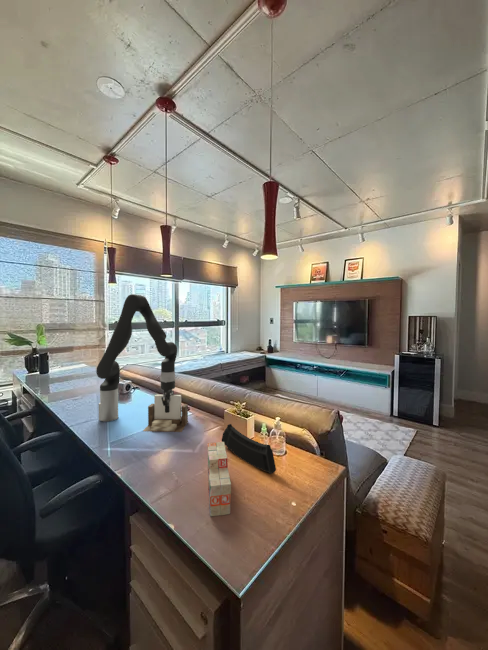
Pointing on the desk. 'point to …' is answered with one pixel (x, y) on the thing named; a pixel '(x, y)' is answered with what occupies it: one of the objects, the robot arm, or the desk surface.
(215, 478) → the stack of blocks
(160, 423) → the offcut upper
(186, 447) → the desk surface
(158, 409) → the white square panel
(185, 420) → the rack
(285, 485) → the desk surface
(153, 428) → the offcut lower
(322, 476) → the desk surface
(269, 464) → the magazine
